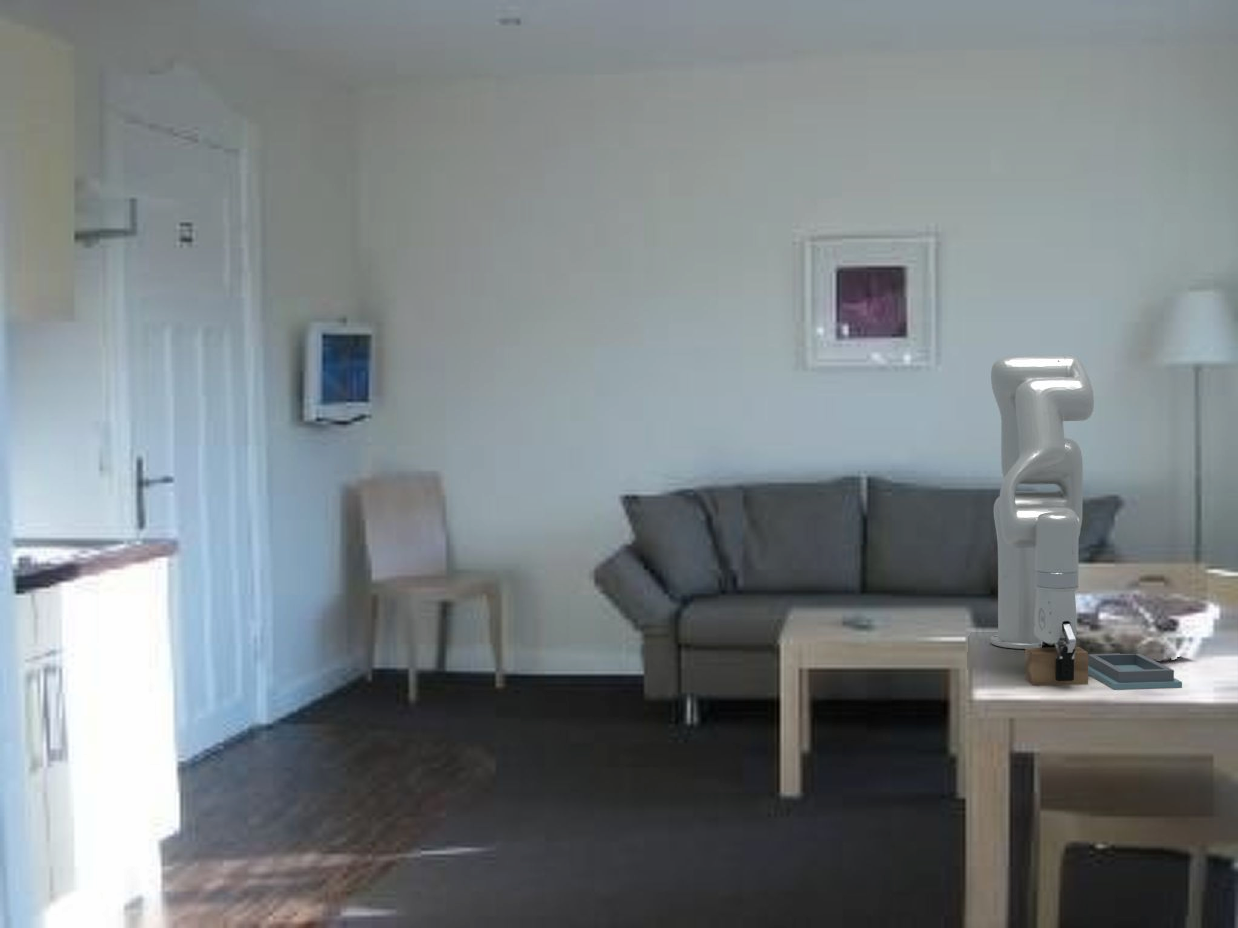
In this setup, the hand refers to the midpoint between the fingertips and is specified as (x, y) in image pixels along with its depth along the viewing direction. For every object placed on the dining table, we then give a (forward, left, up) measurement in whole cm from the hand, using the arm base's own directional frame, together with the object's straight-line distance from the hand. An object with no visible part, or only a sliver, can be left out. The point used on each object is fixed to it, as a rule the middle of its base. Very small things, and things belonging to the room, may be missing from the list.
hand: (1056, 674), depth 274 cm
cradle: (-1, +14, -1) cm, 14 cm away
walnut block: (0, 0, -1) cm, 1 cm away
